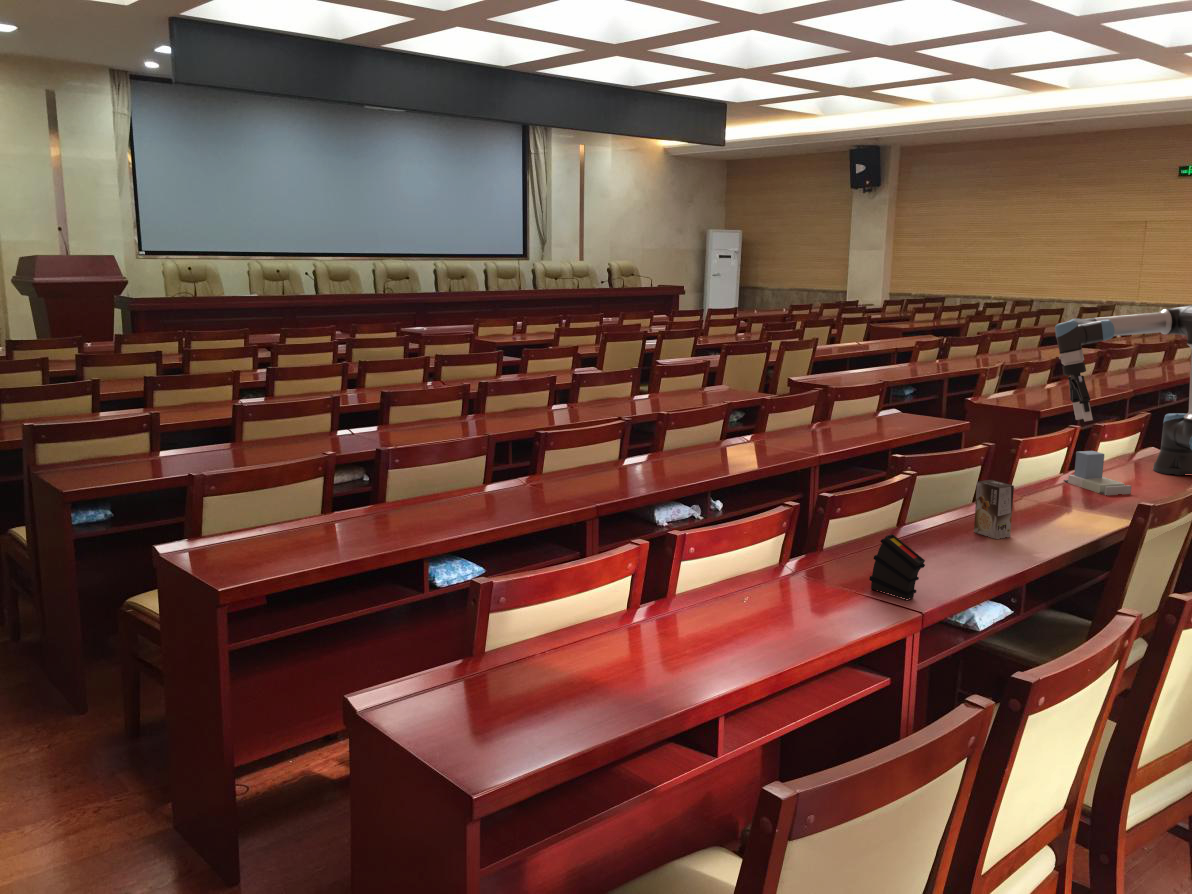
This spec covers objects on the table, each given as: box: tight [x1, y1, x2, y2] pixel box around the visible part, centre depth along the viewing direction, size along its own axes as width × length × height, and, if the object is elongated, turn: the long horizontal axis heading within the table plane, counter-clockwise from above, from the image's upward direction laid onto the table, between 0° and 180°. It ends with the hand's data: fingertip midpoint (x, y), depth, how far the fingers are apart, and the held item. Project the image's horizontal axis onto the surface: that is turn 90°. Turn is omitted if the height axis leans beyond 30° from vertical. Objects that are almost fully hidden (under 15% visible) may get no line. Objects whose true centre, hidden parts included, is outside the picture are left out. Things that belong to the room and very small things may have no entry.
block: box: [1073, 450, 1105, 479], centre depth 353 cm, size 7×6×9 cm
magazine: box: [868, 533, 926, 599], centre depth 241 cm, size 4×13×15 cm, turn 39°
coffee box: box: [973, 479, 1015, 540], centre depth 291 cm, size 9×6×16 cm
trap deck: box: [1063, 474, 1132, 496], centre depth 350 cm, size 10×22×3 cm, turn 12°
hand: (1084, 420), depth 353 cm, fingers open, 13 cm apart
